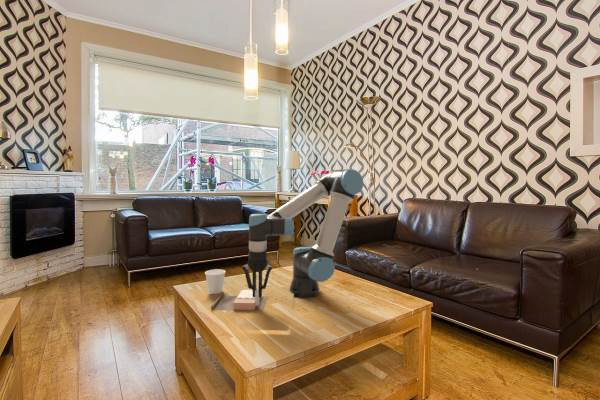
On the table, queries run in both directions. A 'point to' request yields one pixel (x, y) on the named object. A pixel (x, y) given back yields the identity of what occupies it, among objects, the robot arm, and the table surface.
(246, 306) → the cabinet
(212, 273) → the cup
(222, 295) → the board
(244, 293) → the cream flat block
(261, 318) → the table surface
